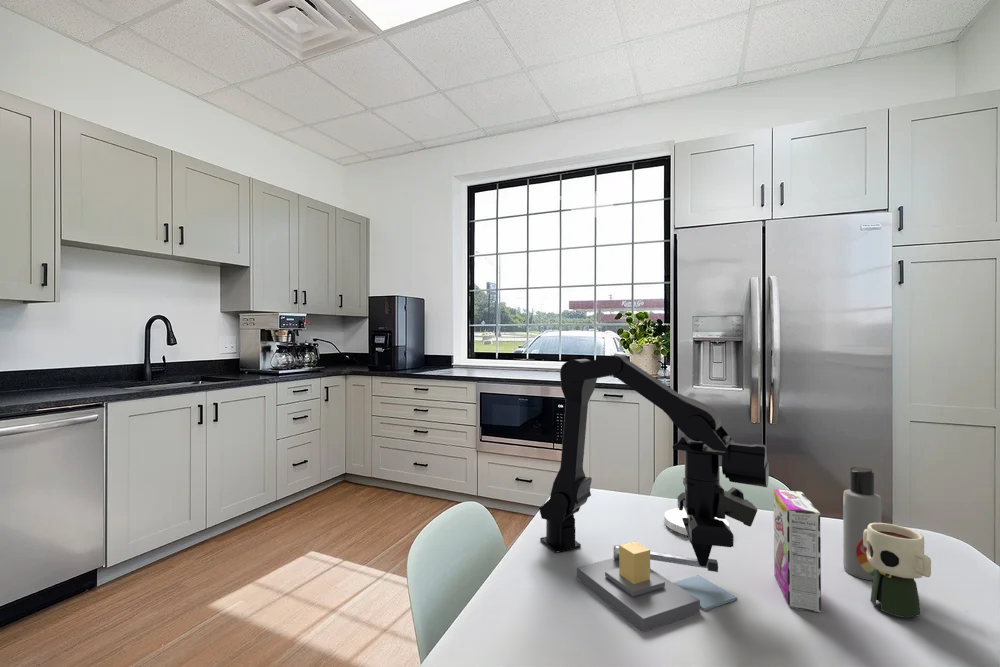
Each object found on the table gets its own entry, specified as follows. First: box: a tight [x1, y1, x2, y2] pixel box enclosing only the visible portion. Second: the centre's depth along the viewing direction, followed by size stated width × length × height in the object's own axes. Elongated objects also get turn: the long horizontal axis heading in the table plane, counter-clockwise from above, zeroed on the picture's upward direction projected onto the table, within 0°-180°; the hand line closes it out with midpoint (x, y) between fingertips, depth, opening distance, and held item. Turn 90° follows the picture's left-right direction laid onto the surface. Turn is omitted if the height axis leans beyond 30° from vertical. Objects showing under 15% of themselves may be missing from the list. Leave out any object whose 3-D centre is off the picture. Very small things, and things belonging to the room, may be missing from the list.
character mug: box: [863, 522, 932, 619], centre depth 75 cm, size 11×7×13 cm, turn 7°
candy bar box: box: [773, 488, 822, 614], centre depth 79 cm, size 11×5×16 cm, turn 160°
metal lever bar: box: [613, 544, 719, 573], centre depth 84 cm, size 18×2×2 cm, turn 72°
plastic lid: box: [663, 507, 730, 536], centre depth 106 cm, size 14×14×2 cm
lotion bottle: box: [842, 466, 882, 581], centre depth 87 cm, size 6×6×20 cm
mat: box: [671, 574, 738, 612], centre depth 79 cm, size 8×8×1 cm
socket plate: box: [576, 557, 701, 633], centre depth 78 cm, size 17×12×2 cm
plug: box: [605, 541, 665, 596], centre depth 78 cm, size 7×7×8 cm
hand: (702, 565), depth 81 cm, fingers closed
